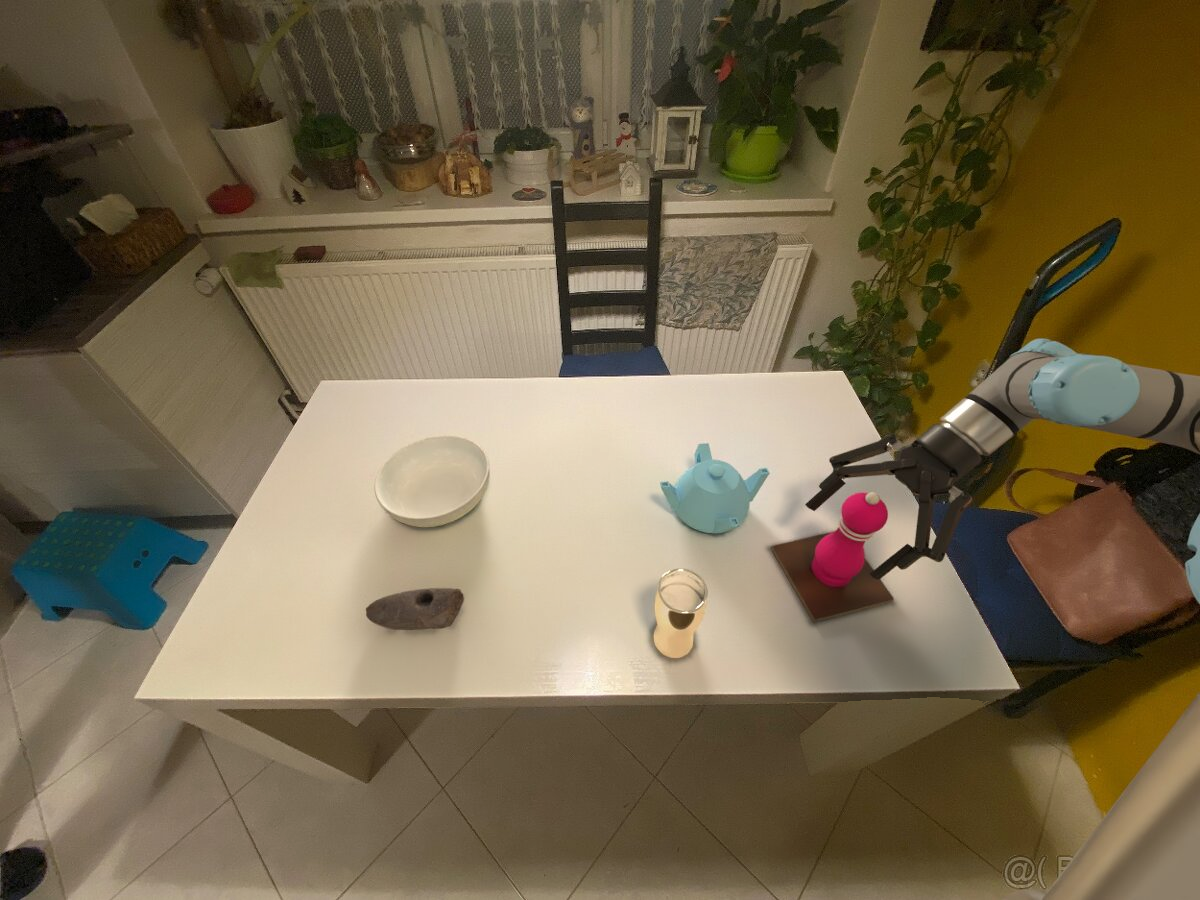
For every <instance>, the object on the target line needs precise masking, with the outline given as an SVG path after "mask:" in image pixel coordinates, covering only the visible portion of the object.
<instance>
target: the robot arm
mask: <svg viewBox="0 0 1200 900" xmlns="http://www.w3.org/2000/svg"><path fill="white" fill-rule="evenodd" d="M1034 420H1043V421H1047V422H1052V423H1055V424H1058V425H1067V426H1070V427H1077V428H1084V429H1088V430H1095V431H1100V432H1105V433H1109V434H1110V433H1111V434H1115V435H1120V436H1126V437H1131V438H1136V439H1142V440H1147V441H1153V442H1157V443H1161V444H1166V445H1171V446H1176V447H1179V448H1183V449H1186V450H1189V451H1190V452H1193V453H1195V454H1198V455H1200V375H1193V374H1188V373H1180V372H1174V371H1171V370H1165V369H1158V368H1153V367H1146V366H1140V365H1134V364H1128V363H1125V362H1123V361H1122V360H1120V359H1118V358H1115V357H1112V356H1107V355H1094V354H1089V353H1078V352H1076V351H1074V350H1073V349H1072V348H1070V347H1068V346H1067V345H1065V344H1063V343H1061V342H1059V341H1057V340H1051V339H1049V338H1041V337H1040V338H1035V339H1033V340H1031V341H1030V342H1028V343H1027V344H1026V345H1023V347H1021V348H1020V349H1019V350H1018V351H1015V352H1014V353H1012V354H1010V355H1009V357H1008V358H1007V359H1006V361H1004V363H1002V364H1001V365H1000V366H999V367H998V368H996V369H995V370H994V371H993V372H992V373H990V375H989V376H987V377H986V378H985V379H984V380H983V381H981V383H979V384H978V385H977V386H976V387H975V388H974V389H973V390H972V391H970V392H969V393H968V394H967V395H966V396H965V397H964V398H962V399H961V400H960V401H959V402H958V403H956V404H955V405H954V406H953V407H952V408H950V409H949V410H948V411H947V412H946V413H944V415H942V416H940V422H941V423H933V424H932V425H930V426H929V427H928V428H927V429H926V430H925V431H924V432H922V434H920V435H919V436H918V437H917V438H916V439H914V440H913V442H912V443H910V444H907V445H904V443H902V441H900V439H899V438H898V436H897V435H896V434H895V433H893V432H890V433H887V434H886V435H885V436H883V437H882V438H881V439H879V440H878V441H874V442H871V443H869V444H865V445H862V446H859V447H856V448H853V449H850V450H848V451H844V452H842V453H838V454H836V455H833V456H832V455H831V456H830V457H829V459H828V462H829V464H830V465H831V467H832V472H831V473H830V474H829V475H828V476H827V477H826V478H824V479H823V480H822V481H821V482H820V483H819V484H818V488H819V489H820V490H819V491H818V492H817V493H816V494H815V495H813V497H811V498H810V499H809V500H808V501H807V502H806V503H804V506H805V507H807V508H808V509H809V510H811V511H812V512H815V511H817V509H819V508H820V507H821V506H822V505H823V504H825V503H826V502H827V501H828V500H829V499H830V498H831V497H833V495H835V494H836V493H837V492H838V491H839V490H840V489H842V488H843V487H844V486H846V484H847V483H846V482H845V481H844V480H845V479H852V478H864V477H865V478H866V477H877V476H894V478H895V479H896V480H897V481H898V482H900V484H902V485H903V486H906V488H907V489H908V490H909V491H910V493H912V494H914V495H915V496H918V510H917V520H916V529H915V537H914V545H913V546H912V545H911V544H909V543H906V544H904V546H902V547H901V548H900V549H899V550H897V551H895V553H894V554H892V555H891V556H889V557H888V558H887V559H886V560H884V562H882V563H881V564H880V565H878V566H877V567H876V568H875V569H873V571H872V572H871V573H870V575H871V576H872V577H873V578H875V579H877V580H879V579H880V580H881V579H882V578H883V577H885V576H886V575H887V574H888V573H890V572H891V571H892V570H894V569H895V568H896V567H897V568H898V569H899V570H901V571H903V570H907V569H908V568H910V567H911V566H912V565H913V564H914V563H916V562H917V561H918V560H920V559H921V558H928V559H930V560H932V561H933V562H936V563H941V562H943V561H944V558H945V556H946V554H947V552H948V548H949V546H950V544H951V541H952V539H953V537H954V534H955V533H956V529H957V527H958V524H959V523H960V519H961V517H962V514H963V512H965V511H966V510H967V509H968V508H969V507H970V505H972V504H973V502H974V500H973V497H972V496H971V494H970V493H969V492H967V491H963V490H961V489H959V488H958V487H957V486H955V485H957V482H958V481H960V480H961V479H962V478H963V477H965V476H966V475H967V474H968V473H970V471H972V470H973V469H975V467H977V466H978V465H979V464H981V463H982V456H985V457H989V456H991V454H992V453H994V452H995V451H996V450H998V449H999V448H1000V447H1001V446H1003V445H1004V444H1005V443H1006V442H1007V441H1009V440H1010V439H1011V438H1013V437H1014V436H1015V435H1016V434H1018V433H1019V432H1020V431H1022V430H1023V429H1024V428H1025V427H1027V425H1029V424H1030V423H1031V422H1032V421H1034ZM888 452H890V453H893V452H897V455H896V459H895V460H886V461H882V462H874V463H866V464H855V465H851V464H854V463H858V462H861V461H864V460H867V459H871V458H874V457H876V456H880V455H883V454H885V453H888ZM942 494H949V498H948V501H949V503H950V504H949V506H948V507H947V510H946V511H945V514H944V517H943V519H942V522H941V524H940V527H939V529H938V531H937V534H936V537H935V538H934V541H933V544H932V546H931V547H930V538H931V532H932V531H931V529H932V521H933V510H934V506H935V501H936V500H935V499H936V495H942ZM1186 545H1187V548H1188V549H1189V550H1191V551H1193V552H1195V555H1194V556H1192V558H1190V559H1188V560H1186V562H1185V563H1184V566H1185V574H1186V579H1187V582H1188V585H1189V588H1190V591H1191V593H1192V594H1193V597H1194V598H1195V600H1196V602H1197V603H1198V604H1199V605H1200V512H1199V513H1198V514H1197V517H1196V520H1195V521H1194V523H1193V525H1192V527H1191V530H1190V531H1189V536H1188V540H1187V543H1186ZM1002 900H1200V691H1199V692H1198V693H1197V694H1196V696H1195V698H1193V700H1191V703H1190V704H1189V705H1188V706H1187V707H1186V709H1185V710H1184V711H1183V713H1182V714H1181V716H1180V717H1179V718H1178V720H1177V721H1176V722H1175V723H1174V725H1173V726H1172V727H1171V729H1170V730H1169V731H1168V732H1167V733H1166V735H1165V737H1164V738H1163V739H1162V741H1161V742H1160V743H1159V744H1158V746H1157V747H1156V748H1155V750H1154V751H1153V752H1152V754H1151V755H1150V756H1149V757H1148V759H1147V760H1146V762H1145V763H1144V764H1143V765H1142V766H1141V768H1140V769H1139V771H1137V773H1136V774H1135V776H1134V777H1133V779H1131V781H1130V783H1128V785H1127V786H1126V787H1125V789H1124V790H1123V792H1121V794H1120V795H1119V797H1118V798H1117V799H1116V801H1115V802H1114V803H1113V805H1111V808H1110V809H1109V810H1108V811H1107V812H1106V814H1105V815H1104V816H1103V818H1102V819H1101V820H1100V821H1099V823H1098V825H1096V827H1095V828H1094V829H1093V831H1092V832H1091V833H1090V834H1089V836H1088V837H1087V839H1085V841H1084V842H1083V844H1082V845H1081V847H1080V848H1079V849H1078V850H1077V852H1076V853H1075V854H1074V856H1073V857H1072V858H1071V860H1070V861H1069V862H1068V864H1067V865H1066V866H1065V867H1064V869H1063V870H1062V871H1061V873H1060V874H1059V876H1058V877H1057V878H1056V879H1055V881H1054V882H1053V883H1052V885H1050V887H1049V888H1048V890H1047V891H1044V890H1040V889H1034V888H1023V889H1017V890H1013V891H1012V892H1009V893H1008V894H1007V895H1006V896H1004V897H1003V899H1002Z"/></svg>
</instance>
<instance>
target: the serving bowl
mask: <svg viewBox="0 0 1200 900" xmlns="http://www.w3.org/2000/svg"><path fill="white" fill-rule="evenodd" d="M488 457H489V456H488V455H487V453H486V452H485V450H484V449H483V448H482V447H481V445H479V444H478V443H476V442H475V441H474V440H471V439H468V438H466V437H463V436H458V435H450V434H449V435H446V434H445V435H434V436H429V437H426V438H421V439H419V440H416V441H414V442H411V443H408V444H407V445H404V446H403V447H401V448H399V449H398V450H397V451H395V452H394V453H393V454H391V456H389V457H388V458H387V459H386V460H385V461H384V463H383V464H382V465H381V467H380V469H379V470H378V471H377V474H376V475H375V476H376V477H375V480H374V486H373V487H374V494H375V497H376V499H377V502H378V504H379V506H380V507H381V508H382V509H383V510H384V511H385V513H386V514H388V515H389V516H390V517H391V518H393V519H394V520H396V521H398V522H400V523H402V524H405V525H408V526H412V527H419V528H432V527H440V526H444V525H446V524H450V523H452V522H454V521H456V520H458V519H460V518H462V517H464V516H465V515H467V514H468V513H469V512H471V511H472V510H473V509H474V508H475V507H476V506H477V505H478V504H479V502H481V500H482V498H483V497H484V495H485V493H486V492H487V489H488V485H489V481H490V475H491V473H490V472H491V471H490V470H491V468H490V461H489V458H488Z"/></svg>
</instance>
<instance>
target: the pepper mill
mask: <svg viewBox="0 0 1200 900" xmlns="http://www.w3.org/2000/svg"><path fill="white" fill-rule="evenodd" d="M840 512H841V513H840V517H839V518H838V523H837V524H838V527H837V529H836V530H835V531H831V532H832V533H830V532H829V533H830V534H828V535H826V536H825V537H824V538H822V539H821V540H820V542H819V543H818V545H817V546H816V549H815V557H814V559H813V561H812V571H813V573H814V575H815V576H816V578H817V579H818V580H819V581H821V582H822V583H824V584H825V585H828V586H831V587H842V586H845V585H847V584H848V583H849V582H850V580H851V578H852V577H853V576H855V575H857V574H858V573H859V572H860V571H861V569H862V567H863V565H864V561H865V559H866V553H865V548H864V547H865V543H866V542H867V541H869V540H871V539H872V538H873V537H874V535H875V534H876V533H877V532H879V531H880V530H882V529H883V528H884V526H885V525H886V524H887V521H888V518H889V512H888V507H887V505H886V504H885V501H883V500H882V499H881V497H880V495H879V494H878V493H877V492H875V491H870V492H855V493H853V494H851V495H849V496H848V497H847V498H846V499H845V500H844V501H843V503H842V505H841V510H840Z"/></svg>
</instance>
